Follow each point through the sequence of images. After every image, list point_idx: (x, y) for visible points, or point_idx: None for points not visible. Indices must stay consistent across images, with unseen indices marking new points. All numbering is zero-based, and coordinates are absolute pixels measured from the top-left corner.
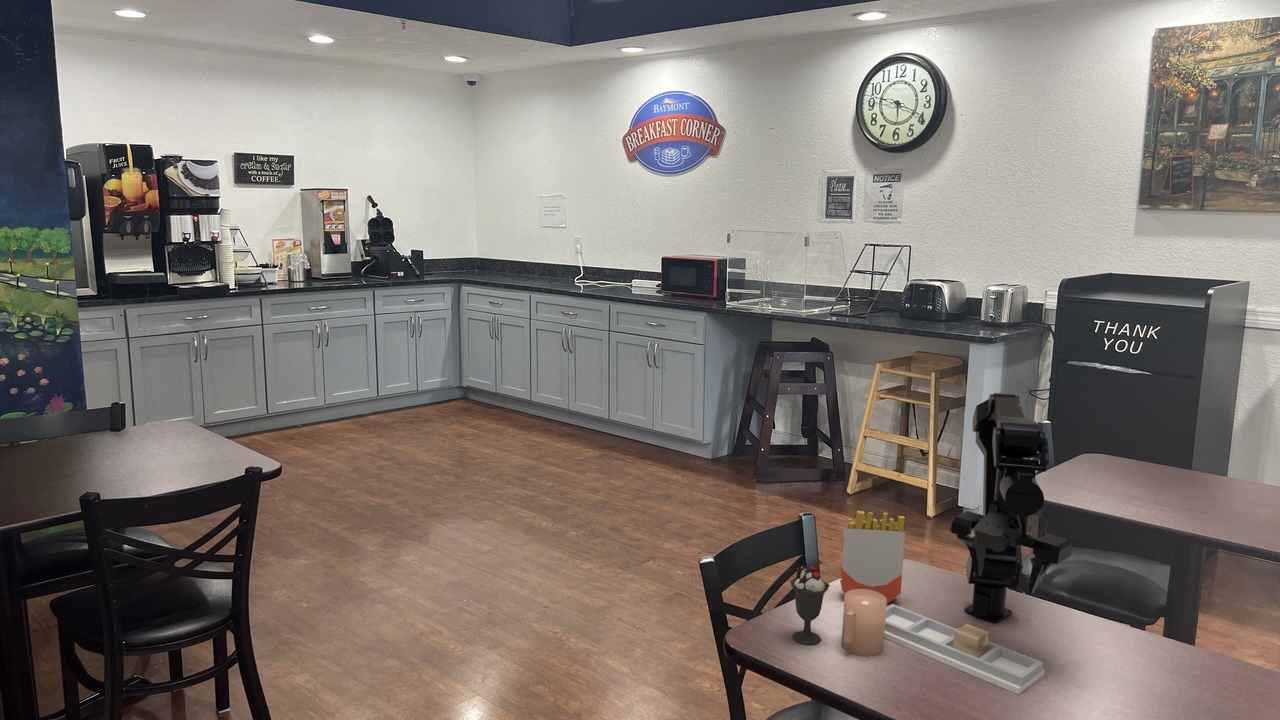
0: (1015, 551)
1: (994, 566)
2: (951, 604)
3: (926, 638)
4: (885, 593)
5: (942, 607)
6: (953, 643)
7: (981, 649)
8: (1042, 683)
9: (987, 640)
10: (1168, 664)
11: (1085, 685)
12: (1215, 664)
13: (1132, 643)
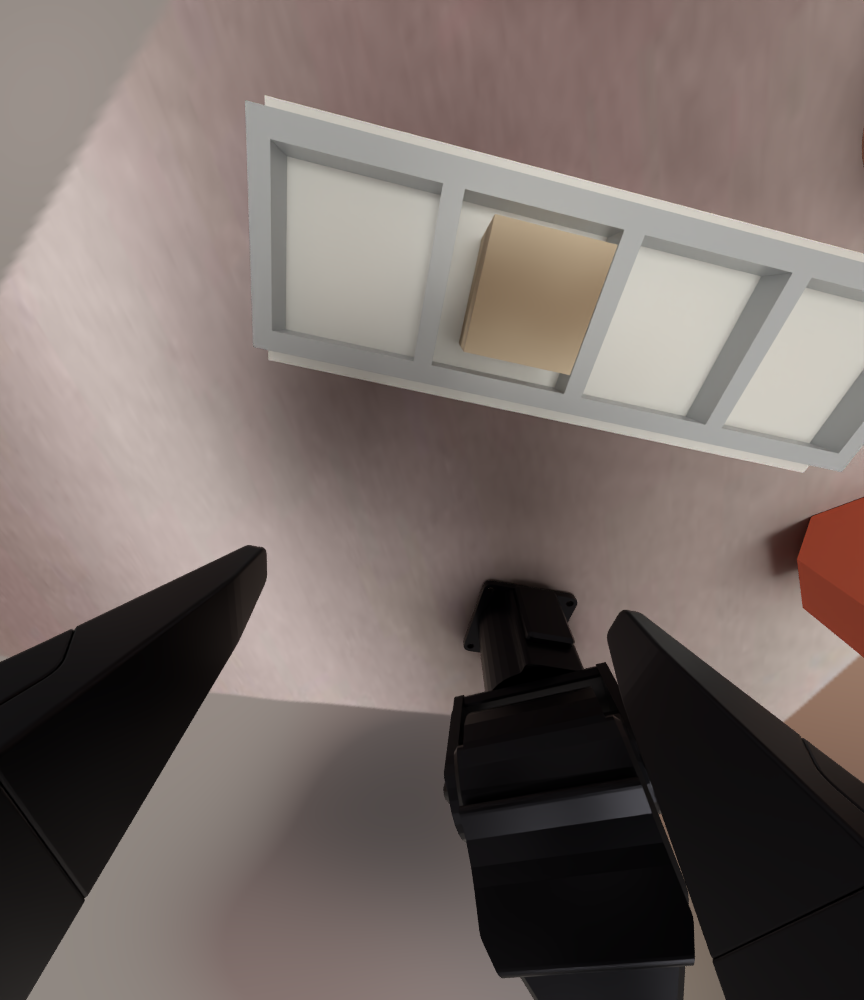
0: (475, 879)
1: (545, 754)
2: (610, 614)
3: (711, 235)
4: (853, 537)
5: (632, 589)
6: None
7: (473, 288)
8: None
9: (463, 342)
10: (107, 605)
11: (162, 373)
12: None
13: None
